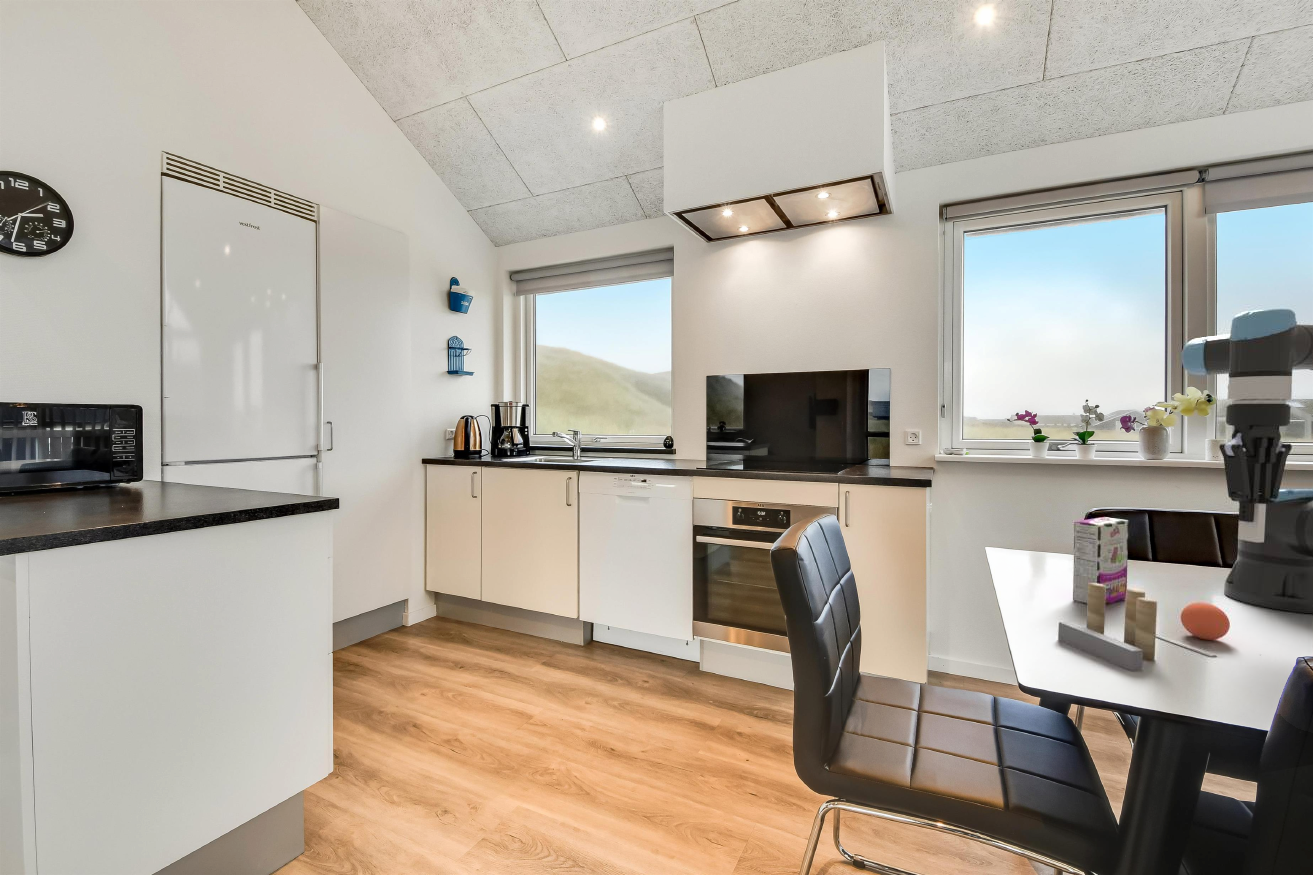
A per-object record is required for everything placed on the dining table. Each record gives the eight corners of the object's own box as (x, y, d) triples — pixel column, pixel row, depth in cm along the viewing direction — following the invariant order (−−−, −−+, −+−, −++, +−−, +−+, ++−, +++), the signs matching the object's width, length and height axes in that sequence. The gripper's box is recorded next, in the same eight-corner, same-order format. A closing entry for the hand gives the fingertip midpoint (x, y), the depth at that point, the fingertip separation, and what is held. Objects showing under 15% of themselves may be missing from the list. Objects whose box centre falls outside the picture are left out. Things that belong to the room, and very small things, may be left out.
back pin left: (1142, 653, 91) (1144, 597, 90) (1158, 659, 88) (1161, 602, 88) (1130, 654, 90) (1132, 598, 90) (1146, 661, 88) (1148, 603, 87)
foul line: (1137, 628, 102) (1137, 626, 102) (1216, 656, 90) (1216, 654, 90) (1131, 628, 101) (1131, 627, 101) (1210, 656, 90) (1210, 655, 90)
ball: (1197, 630, 101) (1198, 596, 100) (1238, 643, 95) (1240, 608, 95) (1170, 632, 99) (1172, 598, 99) (1210, 646, 93) (1212, 610, 93)
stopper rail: (1067, 638, 96) (1068, 621, 96) (1142, 669, 85) (1143, 649, 85) (1058, 639, 96) (1058, 621, 96) (1131, 671, 84) (1132, 650, 84)
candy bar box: (1099, 592, 122) (1102, 516, 121) (1127, 599, 117) (1130, 520, 117) (1070, 600, 117) (1073, 520, 116) (1098, 607, 112) (1101, 524, 112)
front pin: (1131, 641, 95) (1133, 588, 95) (1146, 647, 93) (1149, 592, 93) (1120, 643, 95) (1122, 589, 94) (1134, 648, 92) (1137, 593, 92)
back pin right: (1093, 634, 98) (1095, 582, 98) (1107, 639, 96) (1109, 586, 96) (1082, 635, 98) (1084, 583, 98) (1095, 640, 96) (1098, 587, 95)
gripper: (1259, 403, 103) (1252, 534, 104) (1203, 402, 100) (1196, 537, 101) (1315, 402, 95) (1307, 543, 96) (1256, 401, 92) (1248, 547, 93)
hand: (1250, 540), depth 98 cm, fingers closed
